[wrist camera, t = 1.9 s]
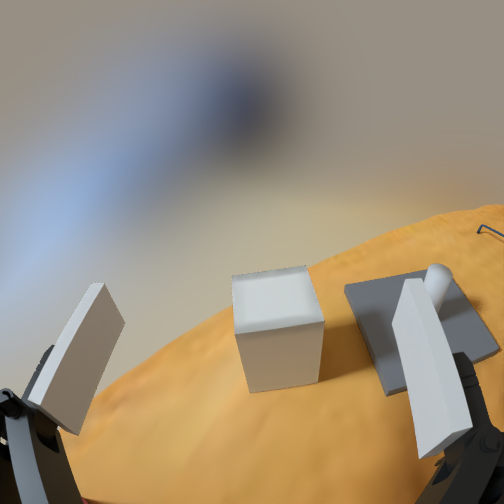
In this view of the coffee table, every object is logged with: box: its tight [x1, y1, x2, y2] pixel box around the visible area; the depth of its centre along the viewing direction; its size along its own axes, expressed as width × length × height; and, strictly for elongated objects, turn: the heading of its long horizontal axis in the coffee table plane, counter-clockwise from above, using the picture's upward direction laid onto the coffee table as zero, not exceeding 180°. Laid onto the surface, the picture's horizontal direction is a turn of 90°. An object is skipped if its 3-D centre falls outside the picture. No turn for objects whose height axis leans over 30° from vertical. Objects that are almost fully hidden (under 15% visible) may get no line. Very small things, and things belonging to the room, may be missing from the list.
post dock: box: [344, 264, 499, 396], centre depth 30 cm, size 16×16×8 cm
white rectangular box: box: [232, 265, 325, 393], centre depth 29 cm, size 7×7×10 cm
